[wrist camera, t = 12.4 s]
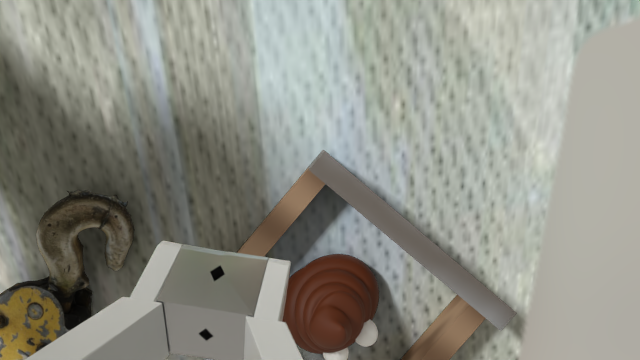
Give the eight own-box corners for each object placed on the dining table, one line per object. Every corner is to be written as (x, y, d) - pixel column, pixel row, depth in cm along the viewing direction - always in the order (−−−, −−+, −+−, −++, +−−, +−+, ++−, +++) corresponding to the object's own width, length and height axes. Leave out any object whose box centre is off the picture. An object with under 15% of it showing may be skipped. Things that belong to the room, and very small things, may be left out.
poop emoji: (346, 233, 43) (357, 258, 34) (395, 305, 44) (419, 349, 34) (260, 291, 43) (247, 332, 34) (310, 361, 44) (310, 420, 35)
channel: (389, 401, 44) (401, 442, 38) (223, 268, 43) (209, 288, 37) (488, 289, 44) (516, 313, 38) (322, 149, 42) (325, 151, 36)
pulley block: (164, 246, 36) (-15, 545, 38) (192, 237, 42) (36, 496, 44) (26, 154, 37) (-140, 447, 39) (72, 157, 43) (-75, 412, 45)
